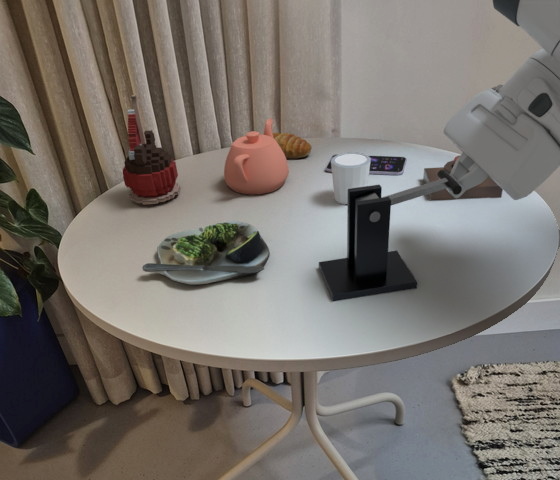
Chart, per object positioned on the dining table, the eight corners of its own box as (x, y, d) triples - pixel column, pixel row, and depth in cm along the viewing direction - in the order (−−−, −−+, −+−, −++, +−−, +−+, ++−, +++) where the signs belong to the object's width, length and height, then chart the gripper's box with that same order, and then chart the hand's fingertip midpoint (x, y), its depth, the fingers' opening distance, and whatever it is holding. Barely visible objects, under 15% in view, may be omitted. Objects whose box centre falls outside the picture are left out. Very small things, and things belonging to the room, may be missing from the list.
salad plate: (152, 306, 81) (144, 278, 78) (137, 248, 94) (130, 223, 91) (282, 276, 85) (280, 249, 82) (250, 225, 98) (247, 199, 95)
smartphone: (332, 153, 117) (407, 156, 113) (332, 156, 117) (407, 159, 114) (324, 169, 112) (402, 172, 108) (324, 172, 112) (402, 175, 108)
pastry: (317, 150, 121) (317, 132, 118) (302, 163, 117) (301, 144, 114) (279, 145, 125) (277, 127, 122) (263, 157, 121) (261, 138, 118)
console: (489, 176, 106) (493, 154, 103) (501, 197, 99) (505, 175, 96) (423, 179, 107) (425, 158, 104) (430, 201, 100) (432, 178, 97)
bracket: (396, 257, 87) (402, 174, 78) (416, 289, 80) (425, 202, 71) (318, 268, 86) (316, 186, 77) (332, 302, 79) (331, 215, 71)
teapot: (211, 198, 107) (203, 147, 101) (248, 161, 119) (243, 113, 113) (271, 204, 103) (267, 151, 97) (303, 165, 116) (301, 116, 109)
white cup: (377, 195, 103) (379, 156, 98) (353, 210, 99) (354, 170, 95) (347, 186, 107) (347, 148, 102) (323, 200, 103) (322, 161, 98)
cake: (175, 207, 105) (154, 103, 93) (125, 210, 106) (98, 107, 94) (184, 183, 113) (166, 84, 101) (138, 186, 114) (114, 88, 102)
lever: (446, 180, 78) (445, 164, 76) (462, 197, 74) (461, 180, 72) (354, 209, 78) (351, 193, 77) (365, 227, 74) (362, 211, 73)
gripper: (484, 65, 77) (408, 148, 83) (564, 114, 62) (464, 212, 68) (509, 96, 80) (435, 174, 86) (591, 149, 65) (494, 240, 71)
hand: (448, 191), depth 77 cm, fingers closed, pressing on lever
